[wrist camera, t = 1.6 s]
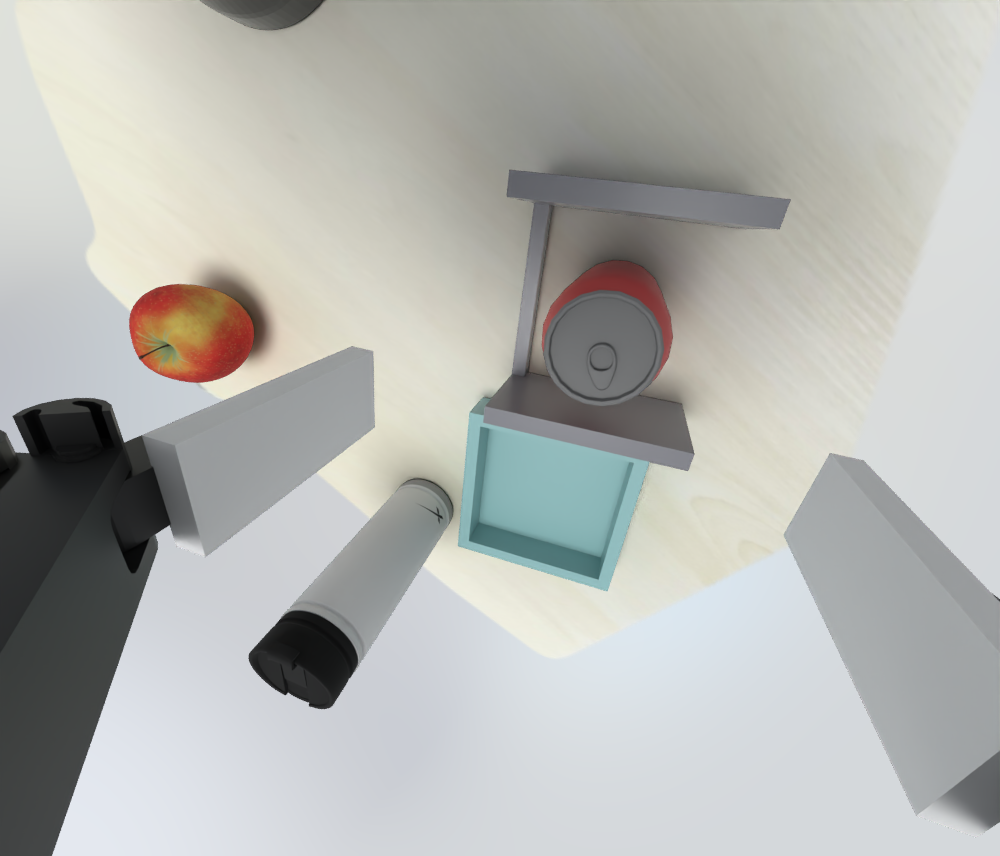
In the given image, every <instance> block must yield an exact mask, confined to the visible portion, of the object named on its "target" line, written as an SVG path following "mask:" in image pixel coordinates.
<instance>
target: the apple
mask: <svg viewBox="0 0 1000 856" xmlns="http://www.w3.org/2000/svg"><path fill="white" fill-rule="evenodd" d="M129 323H130V325H129V327H130V334H131V339H132V343H133V346H134V349H135V351H136V353H137V355H138V357H139V359H140V360H141V361H142V362H143V363H144V364H145V365H146V366H147V367H148V368H149V369H151V370H153V371H154V372H156V373H158V374H160V375H162V376H165V377H168V378H171V379H176V380H179V381H185V382H195V383H200V382H209V381H214V380H217V379H220V378H223V377H225V376H227V375H229V374H231V373H232V372H234V371H235V370H236V369H237V368H239V367H240V366H241V365H242V364H243V362H244V361H245V360H246V358H247V357H248V355H249V353H250V351H251V348H252V345H253V340H254V327H253V323H252V320H251V318H250V316H249V315H248V313H247V312H246V310H245V309H244V308H243V307H242V306H241V305H240V304H239V303H238V302H237V301H235V300H234V299H233V298H231V297H229V296H228V295H226V294H224V293H222V292H219V291H217V290H214V289H210V288H206V287H203V286H197V285H184V284H175V285H167V286H163V287H158V288H155V289H153V290H151V291H149V292H148V293H146V294H144V295H143V296H142V297H141V298H140V299H139V300H138V301H137V302H136V304H135V305H134V306H133V309H132V311H131V314H130V319H129Z"/></svg>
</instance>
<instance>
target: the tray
mask: <svg viewBox="0 0 1000 856" xmlns="http://www.w3.org/2000/svg"><path fill="white" fill-rule="evenodd" d="M490 400H491V399H489V398H484V397H483V398H482V399H481V400H480V401H479V402H478V404H477V405H476V406H475V407H474V408H473V409H472V410H471V411H470V413H469V424H468V436H467V448H466V459H465V471H464V482H463V494H462V505H461V517H460V528H459V540H458V546H459V547H463V548H466V549H469V550H472V551H476V552H479V553H482V554H486V555H489V556H492V557H496V558H499V559H502V560H505V561H509V562H512V563H515V564H519V565H522V566H525V567H528V568H532V569H535V570H538V571H542V572H545V573H548V574H552V575H555V576H558V577H561V578H565V579H568V580H571V581H575V582H578V583H581V584H585V585H588V586H591V587H594V588H598V589H601V590H604V591H608V588H609V585H610V582H611V579H612V576H613V573H614V570H615V567H616V564H617V560H618V557H619V554H620V551H621V548H622V545H623V542H624V539H625V536H626V533H627V530H628V527H629V523H630V520H631V517H632V514H633V511H634V508H635V505H636V502H637V499H638V496H639V493H640V490H641V486H642V483H643V480H644V477H645V474H646V471H647V468H648V465H649V462H647V461H643V460H639V459H635V458H630V457H626V456H622V455H618V454H613V453H609V452H605V451H601V450H596V449H592V448H588V447H584V446H580V445H575V444H571V443H567V442H563V441H558V440H554V439H550V438H546V437H541V436H537V435H533V434H529V433H525V432H520V431H516V430H512V429H508V428H503V427H499V426H495V425H491V424H486V423H483V419H484V409H485V405H486V404H487V403H488V402H489V401H490Z"/></svg>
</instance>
